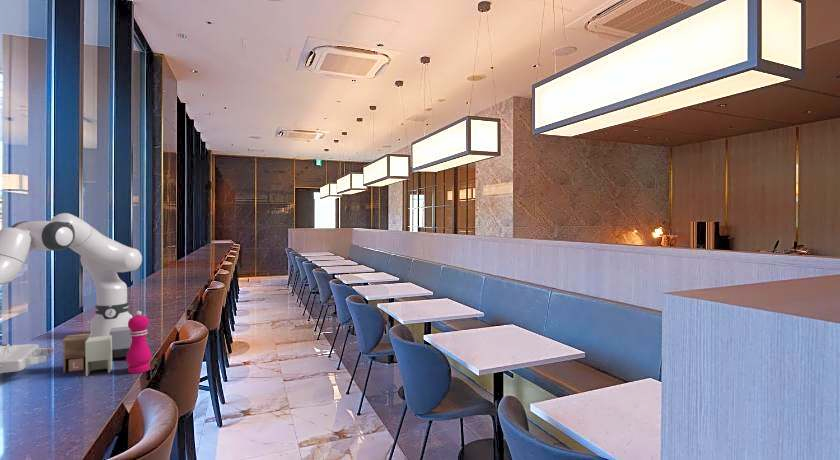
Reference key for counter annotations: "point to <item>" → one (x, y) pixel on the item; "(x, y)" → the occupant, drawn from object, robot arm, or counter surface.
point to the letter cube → (76, 364)
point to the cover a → (74, 348)
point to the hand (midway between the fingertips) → (49, 354)
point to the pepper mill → (138, 345)
